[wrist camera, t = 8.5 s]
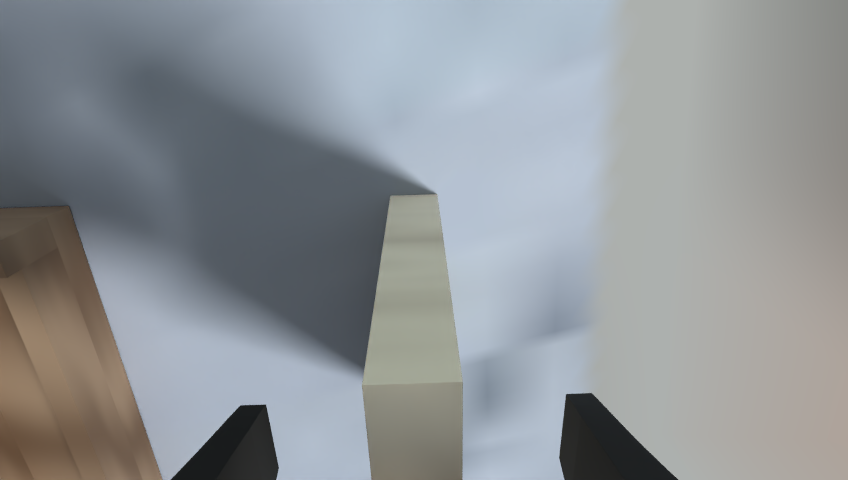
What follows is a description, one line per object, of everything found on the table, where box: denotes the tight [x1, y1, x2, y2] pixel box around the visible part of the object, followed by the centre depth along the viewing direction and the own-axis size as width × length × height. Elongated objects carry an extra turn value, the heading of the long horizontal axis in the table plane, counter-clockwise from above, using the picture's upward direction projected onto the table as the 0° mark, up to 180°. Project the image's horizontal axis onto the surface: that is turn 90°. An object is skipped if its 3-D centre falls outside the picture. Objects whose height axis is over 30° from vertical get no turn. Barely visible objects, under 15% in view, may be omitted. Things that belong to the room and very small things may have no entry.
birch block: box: [362, 194, 463, 480], centre depth 13 cm, size 8×2×9 cm, turn 2°
